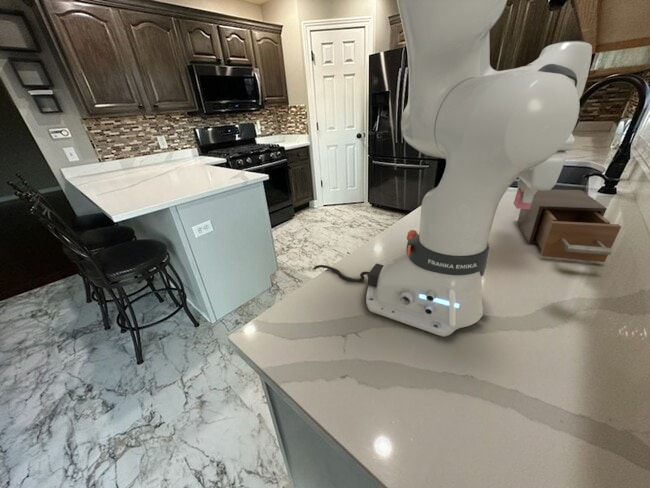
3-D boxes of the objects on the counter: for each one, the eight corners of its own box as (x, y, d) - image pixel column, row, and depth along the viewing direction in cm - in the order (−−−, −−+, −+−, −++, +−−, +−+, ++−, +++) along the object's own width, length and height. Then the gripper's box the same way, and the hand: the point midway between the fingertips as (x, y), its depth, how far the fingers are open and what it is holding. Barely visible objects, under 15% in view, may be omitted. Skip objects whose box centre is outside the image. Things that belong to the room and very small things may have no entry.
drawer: (616, 274, 54) (635, 237, 50) (547, 267, 58) (560, 232, 54) (580, 236, 69) (592, 204, 65) (527, 232, 73) (536, 202, 69)
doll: (516, 208, 62) (522, 185, 59) (513, 203, 65) (519, 181, 62) (529, 209, 61) (536, 186, 58) (526, 204, 64) (532, 182, 61)
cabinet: (589, 248, 65) (607, 208, 60) (528, 243, 70) (539, 205, 65) (568, 224, 77) (581, 189, 72) (517, 222, 81) (525, 189, 77)
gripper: (513, 132, 65) (500, 186, 72) (536, 143, 49) (516, 212, 55) (544, 131, 63) (528, 187, 69) (579, 142, 46) (553, 214, 53)
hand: (523, 198), depth 62 cm, fingers closed on doll, 3 cm apart
